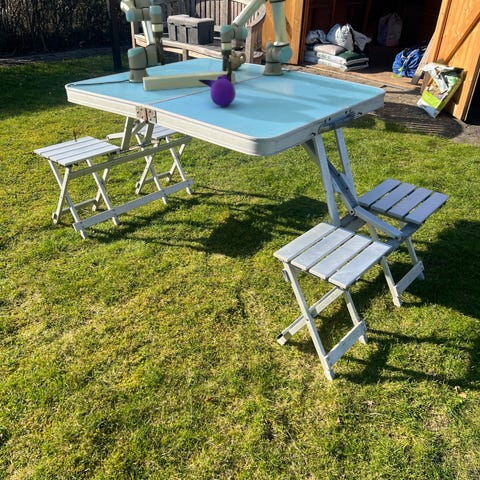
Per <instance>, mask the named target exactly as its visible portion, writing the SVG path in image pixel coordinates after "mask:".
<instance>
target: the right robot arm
mask: <svg viewBox="0 0 480 480" xmlns="http://www.w3.org/2000/svg"><path fill="white" fill-rule="evenodd" d="M267 2H269V4H270V5H271V9H272V19H273V20H272V21H273V30H274V42H267V43H266V44H265V65H264V69H263V71H262V72H263V75H264V76H271V77H272V76H273V77H275V76H282V75H283V74H284V73H283V72H291V71H292V72H297V71H300V70H301V71H303V70H304V69H303V68H302V67H299V68H297V69H287V70H286V69H283V68H282V67H283V66H282V64H287V63H288V62H290V61H291V59H292V58H293V54H294V51H293V49H292V48H291V46H290V41H289V40H288V35H287V23H286V10H285V3H286V2H287V0H250V1H249V3H247V5H246V6H245V7H244V8H243V10H242V11H241V12H240V13H239V14H238V16H237V17H236V18H235V19H234V20H233V21H232V23H230V24H222V25H221V26H220V32H219V34H220V49H221V50H220V55H221V56H222V66H221V67H222V68H221V69H222V71H227V72H228V73H227V76H228V77H229V81H230V82H231V74H232V71H233V70H232V66H231V59H230V58H229V57H231V55H232V51H233V50H232V49H233V47H232V46H233V43H232V41H234V40H235V41H236V40H246V39H247V38H248V36H249V35H248V33H249V32H248V29H247V27H245V25H246V24H247V23H248V22H249V21H250V20H251V18H252V17H253V16H254V15H255V14H256V13H257V12H258V10H259V9H260V8H261V7H262V5H265V4H267Z"/></svg>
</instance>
